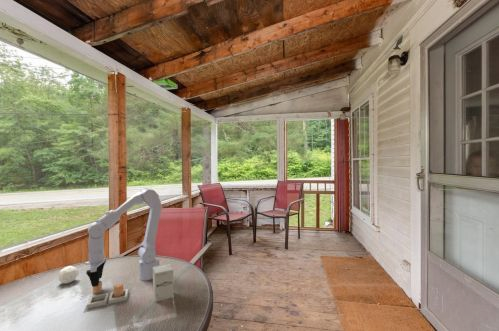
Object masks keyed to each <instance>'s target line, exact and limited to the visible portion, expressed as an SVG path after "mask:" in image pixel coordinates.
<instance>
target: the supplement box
mask: <svg viewBox="0 0 499 331" xmlns="http://www.w3.org/2000/svg"><path fill="white" fill-rule="evenodd" d="M152 296H153V299H154V302H155V303H157V302H161V301H164V300H168V299H172V301H174V297H175V296H174V269H173V267H172V263H167V264H163V265H159V266H156V267H153V279H152Z"/></svg>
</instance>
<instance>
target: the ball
mask: <svg viewBox="0 0 499 331" xmlns="http://www.w3.org/2000/svg"><path fill="white" fill-rule="evenodd" d="M78 275H79V269H77V267H75V266H72V265H69V266H65V267H64V268H62V269H60V271H59V272H58V274H57V276H58V277H57V278H58V281H59V282H60V283H61V284H65V285H67V284H71V283H72V282H74V281H75V280H76V279H77V277H78Z"/></svg>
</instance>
